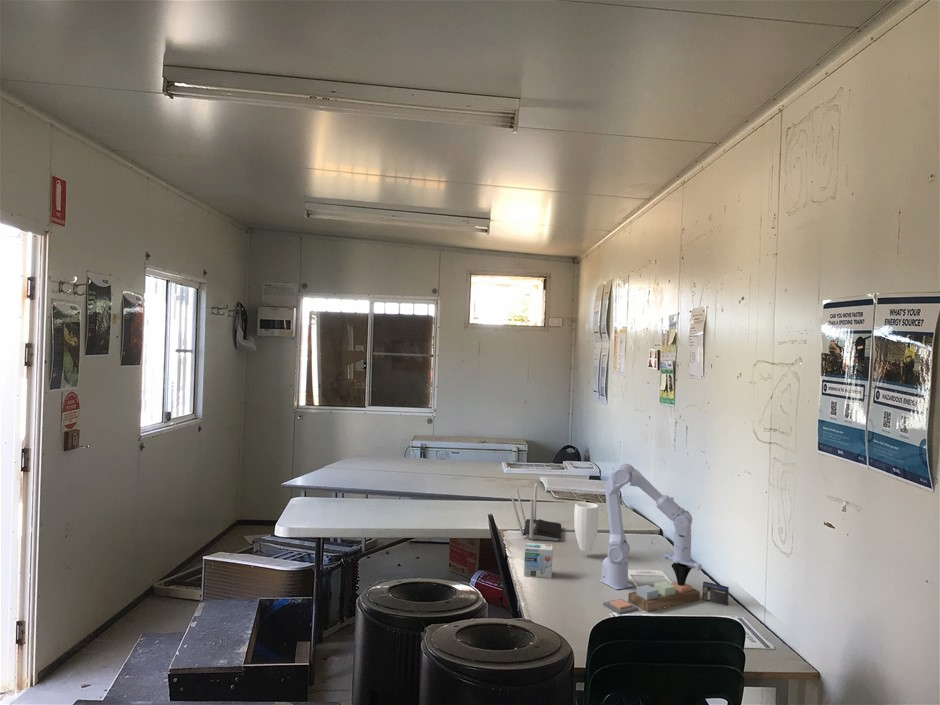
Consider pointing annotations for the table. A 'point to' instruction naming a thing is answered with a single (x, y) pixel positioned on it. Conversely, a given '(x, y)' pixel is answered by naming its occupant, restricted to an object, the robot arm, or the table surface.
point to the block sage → (664, 588)
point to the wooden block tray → (663, 600)
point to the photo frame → (645, 574)
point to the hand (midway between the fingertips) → (681, 584)
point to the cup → (586, 524)
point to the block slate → (647, 592)
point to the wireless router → (537, 522)
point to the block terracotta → (682, 587)
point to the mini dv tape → (715, 593)
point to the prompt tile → (620, 606)
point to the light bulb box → (538, 560)
